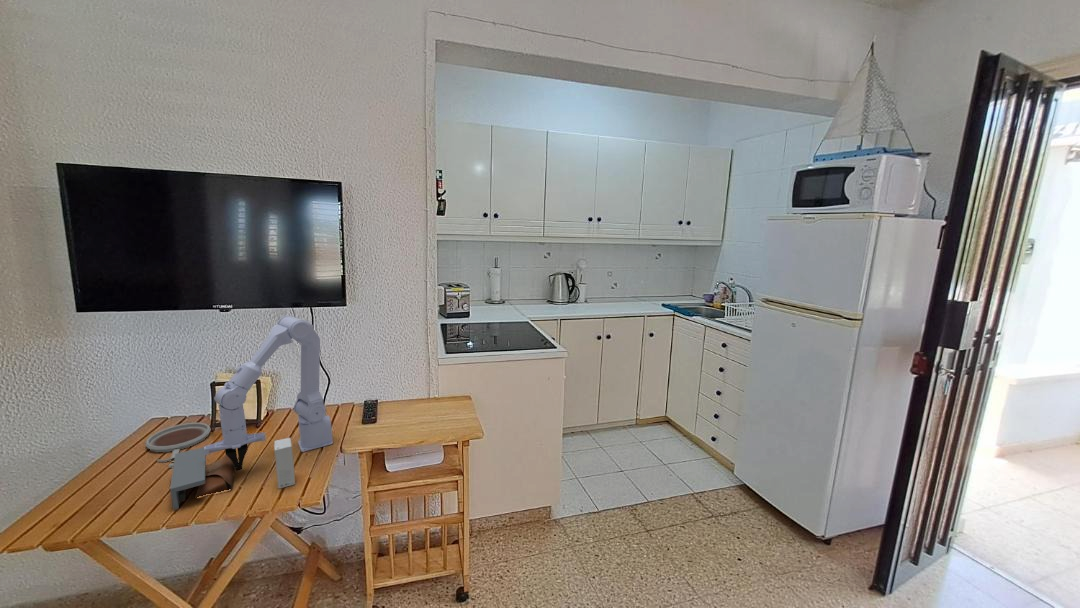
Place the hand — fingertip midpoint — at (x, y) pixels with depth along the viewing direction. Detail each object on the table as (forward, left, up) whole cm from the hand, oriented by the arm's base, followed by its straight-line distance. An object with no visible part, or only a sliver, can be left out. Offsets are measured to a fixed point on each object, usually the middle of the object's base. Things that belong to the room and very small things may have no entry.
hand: (239, 468), depth 127 cm
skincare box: (-11, +12, -2) cm, 16 cm away
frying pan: (+16, -28, -2) cm, 32 cm away
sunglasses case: (+5, 0, -2) cm, 6 cm away
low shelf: (+11, 0, -1) cm, 11 cm away
